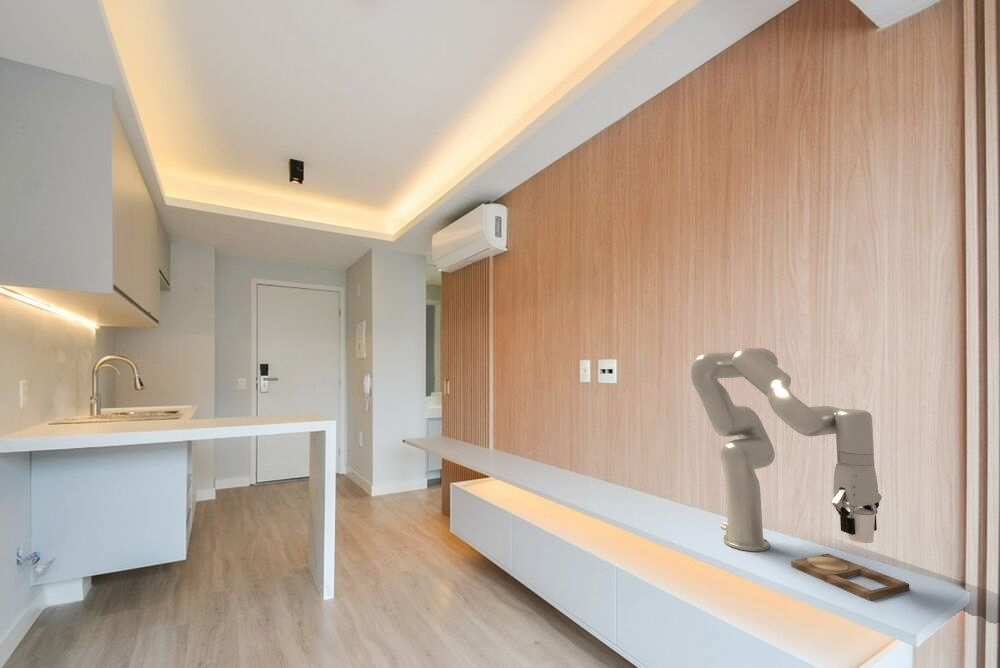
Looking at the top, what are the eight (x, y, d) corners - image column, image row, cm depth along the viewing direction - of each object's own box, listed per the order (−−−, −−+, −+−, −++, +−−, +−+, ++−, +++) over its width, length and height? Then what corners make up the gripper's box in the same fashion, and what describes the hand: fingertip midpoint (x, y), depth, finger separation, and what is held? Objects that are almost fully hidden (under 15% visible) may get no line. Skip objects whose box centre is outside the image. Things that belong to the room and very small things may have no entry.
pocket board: (791, 566, 128) (790, 559, 128) (828, 558, 132) (828, 552, 132) (869, 600, 109) (868, 592, 109) (909, 590, 113) (909, 582, 113)
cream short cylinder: (871, 546, 113) (869, 516, 113) (837, 537, 118) (836, 509, 119) (880, 539, 117) (879, 511, 117) (848, 531, 122) (846, 504, 123)
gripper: (863, 453, 125) (867, 521, 124) (815, 458, 119) (819, 530, 118) (895, 459, 118) (899, 531, 117) (846, 465, 112) (849, 541, 111)
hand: (858, 530), depth 118 cm, fingers closed on cream short cylinder, 6 cm apart
